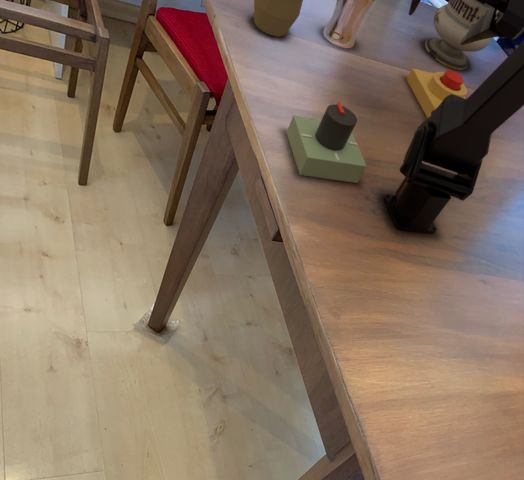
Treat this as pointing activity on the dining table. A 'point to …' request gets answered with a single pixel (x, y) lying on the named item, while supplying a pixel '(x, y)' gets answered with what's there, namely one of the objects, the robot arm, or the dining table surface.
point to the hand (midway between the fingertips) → (436, 27)
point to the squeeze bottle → (276, 15)
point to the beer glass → (346, 21)
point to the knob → (336, 127)
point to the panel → (323, 153)
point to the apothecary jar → (456, 32)
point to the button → (452, 80)
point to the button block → (431, 89)
